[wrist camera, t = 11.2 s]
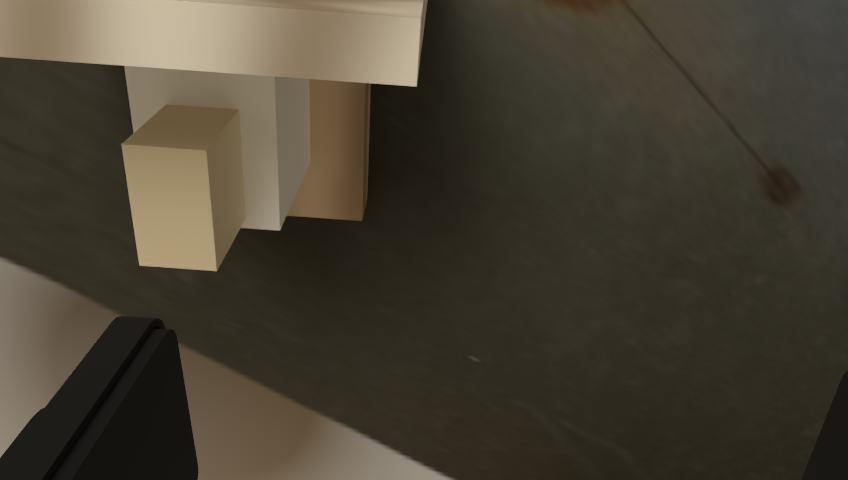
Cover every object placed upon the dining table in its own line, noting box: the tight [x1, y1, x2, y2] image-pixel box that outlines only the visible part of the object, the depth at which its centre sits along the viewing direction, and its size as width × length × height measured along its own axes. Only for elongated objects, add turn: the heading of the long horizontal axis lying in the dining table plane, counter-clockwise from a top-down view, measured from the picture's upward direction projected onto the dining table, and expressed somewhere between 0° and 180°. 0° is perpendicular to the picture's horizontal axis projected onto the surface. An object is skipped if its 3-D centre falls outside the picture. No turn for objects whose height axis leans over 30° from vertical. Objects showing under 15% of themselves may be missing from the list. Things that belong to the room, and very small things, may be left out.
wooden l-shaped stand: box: [0, 0, 428, 221], centre depth 29 cm, size 18×15×22 cm
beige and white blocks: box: [121, 66, 310, 271], centre depth 31 cm, size 6×10×12 cm, turn 176°
